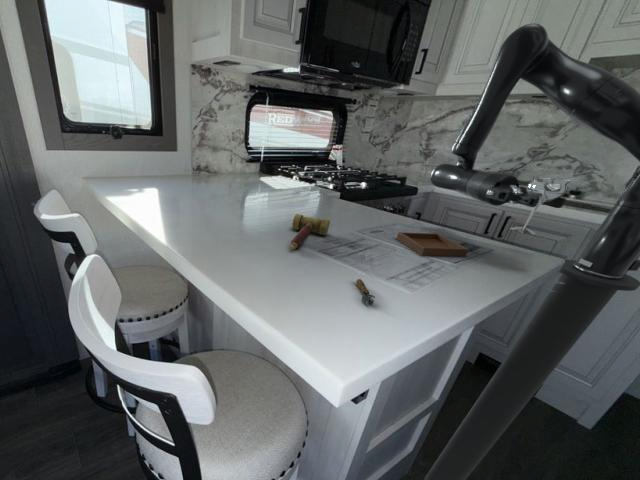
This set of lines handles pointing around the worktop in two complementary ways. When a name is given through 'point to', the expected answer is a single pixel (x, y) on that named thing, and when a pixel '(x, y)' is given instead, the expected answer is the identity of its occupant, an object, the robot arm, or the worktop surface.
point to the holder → (431, 244)
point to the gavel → (307, 228)
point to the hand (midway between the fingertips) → (549, 203)
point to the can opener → (365, 292)
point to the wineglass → (543, 194)
